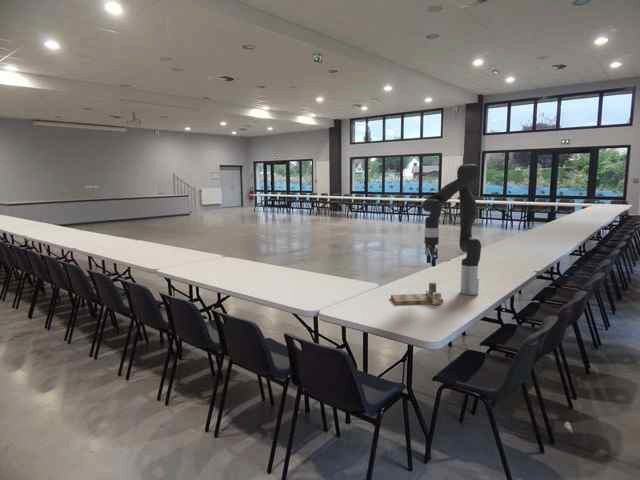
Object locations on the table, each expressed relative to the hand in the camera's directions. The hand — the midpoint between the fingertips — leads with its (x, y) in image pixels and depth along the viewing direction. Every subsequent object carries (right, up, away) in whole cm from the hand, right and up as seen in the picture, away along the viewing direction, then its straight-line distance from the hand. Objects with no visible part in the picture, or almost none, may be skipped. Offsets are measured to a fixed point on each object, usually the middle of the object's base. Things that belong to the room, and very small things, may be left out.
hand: (431, 264), depth 225 cm
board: (-8, -20, +2) cm, 22 cm away
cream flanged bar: (+1, -20, +2) cm, 20 cm away
